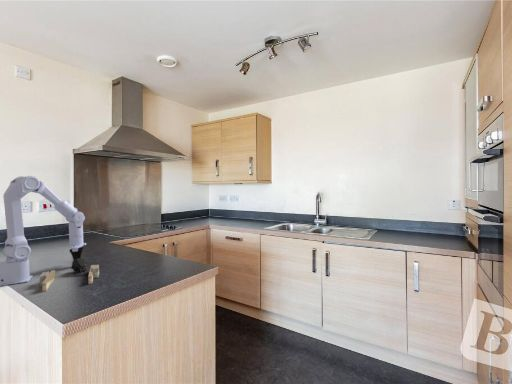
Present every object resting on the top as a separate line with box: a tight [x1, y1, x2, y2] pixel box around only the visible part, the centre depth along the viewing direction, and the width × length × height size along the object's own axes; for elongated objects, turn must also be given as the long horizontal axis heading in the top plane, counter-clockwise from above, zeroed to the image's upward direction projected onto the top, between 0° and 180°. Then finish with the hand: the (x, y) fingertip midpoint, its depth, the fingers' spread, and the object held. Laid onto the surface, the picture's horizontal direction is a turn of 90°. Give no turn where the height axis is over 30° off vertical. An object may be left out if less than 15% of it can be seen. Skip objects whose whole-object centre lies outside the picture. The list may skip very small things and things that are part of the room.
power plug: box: [71, 257, 88, 277], centre depth 122 cm, size 6×8×12 cm
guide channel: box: [39, 264, 100, 293], centre depth 112 cm, size 20×18×4 cm
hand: (77, 263), depth 133 cm, fingers closed
